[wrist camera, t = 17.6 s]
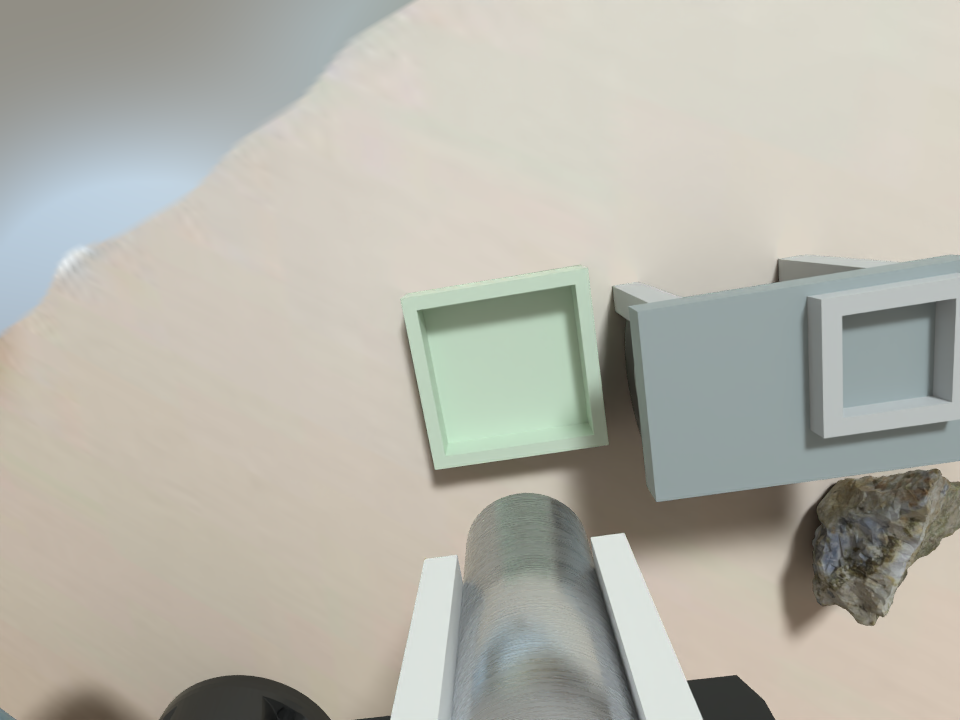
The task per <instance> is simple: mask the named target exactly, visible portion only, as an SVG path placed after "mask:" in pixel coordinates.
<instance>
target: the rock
mask: <svg viewBox="0 0 960 720" xmlns="http://www.w3.org/2000/svg"><path fill="white" fill-rule="evenodd" d="M816 513H817V514H818V519H819V520H820V522H821V523H822V525H820V526H819V527H818V528H817V529H816V531H815V538H814V539H813V541H812V544H813V547H814V551H813V561H814V564H813V569H814V575H815V577H814V579H813V592H814V594H815V596H816V599H817V602H818V603H819V604H820V605H821V606H830V605H834V604H836V605H838V606H840V607H842V608H844V609H846V610H847V611H848V612H849V613H850V614H851V615H852V616H853V617H854V618H855V620H856V621H857V622H858V623H860V624H863V625H866V626H874V625H875V623H876V621H877V619H878V617H879V616H881V617H884V616H885V615H886V614H887V613H888V611H889V608H890V606H891V604H892V603H893V598H894V593H895V592H896V590H897V588H898V587H899V586H900V584H901V583H902V581H903V580H904V579H905V577H906V575H907V569H908V568H909V567H910V566H911V565H912V564H913V563H914V562H915V561H916V560H917V559H919V558H920V557H923V556H926V555H928V554H930V553H931V552H932V551H933V550H935V549H936V548H937V547H938V546H939V544H940V541H941V539H942V538H945V537H948V536H950V535H952V534H953V533H954V532H955V531H956V530H958V529H959V528H960V482H949V480H948V479H946V478H945V477H943V476H942V473H941V472H940V470H938V469H931V470H927V471H924V470H915V471H908V472H906V473H904V474H896V475H890V476H881V477H879V478H877V477H875V478H874V477H872V476H865V477H862V478H859V479H852V478H846V479H845V480H839V481H838V482H837V483H836V484H835V485H834V486H833V487H832V489H831V490H830V491H829V492H828V493H827V494H826V496H825V497H824V498H823V500H822V501H821V502H820V503H819V505H818V507H817V511H816Z"/></svg>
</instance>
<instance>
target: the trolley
mask: <svg viewBox="0 0 960 720" xmlns="http://www.w3.org/2000/svg"><path fill="white" fill-rule="evenodd" d="M778 264H779V282H777V283H771V284H764V285H758V286H752V287H746V288H739V289H733V290H727V291H721V292H714V293H708V294H702V295H696V296H689V297H683V298H682V297H680V296H677V295H674V294H671V293H668V292H666V291H663V290H660V289H657V288H655V287H652V286H649V285H646V284H643V283H641V282H634V283H628V284H622V285H616V286H613V295H614V304H615V312H617V313H618V314H620V315H621V316H623V317H624V318H626V319H627V320H626V327H625V360H626V370H627V378H628V384H629V390H630V396H631V401H632V405H633V410H634V414H635V418H636V421H637V425H638V428H639V431H640V434H641V437H642V444H643V454H644V464H645V474H646V483H647V487H648V489H649V491H650V492H651V494H652V496H653V497H654V499H655V501H656V502H661V501H668V500H675V499H683V498H690V497H698V496H705V495H712V494H720V493H727V492H734V491H742V490H749V489H756V488H764V487H771V486H779V485H786V484H793V483H801V482H808V481H815V480H823V479H830V478H837V477H845V476H852V475H860V474H867V473H874V472H882V471H889V470H896V469H904V468H911V467H918V466H926V465H933V464H941V463H948V462H955V461H960V255H946V256H939V257H933V258H927V259H921V260H914V261H908V262H892V261H879V260H867V259H854V258H841V257H829V256H816V255H800V256H794V257H788V258H782V259H778Z"/></svg>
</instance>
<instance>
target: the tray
mask: <svg viewBox="0 0 960 720" xmlns="http://www.w3.org/2000/svg"><path fill="white" fill-rule="evenodd" d="M401 304H402V309H403V314H404V319H405V324H406V329H407V334H408V339H409V344H410V349H411V354H412V359H413V364H414V369H415V374H416V378H417V383H418V388H419V393H420V398H421V403H422V408H423V413H424V418H425V423H426V428H427V433H428V438H429V443H430V448H431V453H432V458H433V463H434V468H435V470H438V469H445V468H452V467H459V466H466V465H473V464H480V463H487V462H494V461H501V460H508V459H515V458H522V457H529V456H536V455H543V454H550V453H557V452H564V451H570V450H577V449H584V448H591V447H598V446H605V445H609V443H608V434H607V426H606V417H605V409H604V401H603V392H602V384H601V375H600V367H599V358H598V350H597V341H596V333H595V325H594V316H593V308H592V299H591V291H590V282H589V274H588V268H587V267H584V266H582V265H577V266H571V267H565V268H559V269H553V270H547V271H541V272H534V273H528V274H522V275H516V276H510V277H504V278H498V279H492V280H486V281H480V282H474V283H468V284H462V285H456V286H450V287H444V288H438V289H432V290H426V291H420V292H414V293H408V294H406V295H405V296H404V297H402V298H401Z"/></svg>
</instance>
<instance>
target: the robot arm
mask: <svg viewBox="0 0 960 720" xmlns="http://www.w3.org/2000/svg"><path fill="white" fill-rule="evenodd" d="M591 545H592V552H593V560H594V567H595V572H596V575H597V579H598V582H599V585H600V589H601V592H602V596H603V599H604V603H605V606H606V610H607V613H608V616H609V620H610V623H611V627H612V630H613V634H614V637H615V641H616V644H617V647H618V651H619V654H620V658H621V661H622V665H623V668H624V672H625V675H626V678H627V682H628V685H629V689H630V692H631V696H632V699H633V703H634V706H635V709H636V713H637V716H638V720H775V718H774V717H773V715H772V713H771V711H770V710H769V708H768V706H767V704H766V703H765V701H764V700H763V699H762V698H761V697H760V696H759V695H758V694H757V693H756V692H754V691H753V690H752V689H751V688H750V687H749V686H748V685H747V684H746V683H745V682H743V681H742V680H741V679H740V678H739V677H738V676H737V675H733V676H724V677H715V678H706V679H697V680H688V681H687V680H686V678H685V676H684V673H683V671H682V669H681V666H680V664H679V661H678V659H677V657H676V654H675V652H674V650H673V647H672V645H671V642H670V640H669V638H668V635H667V633H666V631H665V628H664V626H663V623H662V621H661V619H660V616H659V614H658V612H657V609H656V607H655V604H654V602H653V600H652V597H651V595H650V593H649V590H648V588H647V585H646V583H645V581H644V578H643V576H642V574H641V571H640V569H639V566H638V564H637V562H636V559H635V557H634V555H633V552H632V550H631V548H630V545H629V543H628V540H627V538H626V536H625V533H620V534H612V535H604V536H597V537H591ZM462 593H463V581H462V576H461V571H460V566H459V561H458V556H457V555H452V556H445V557H437V558H429V559H425V560H424V565H423V570H422V574H421V579H420V584H419V588H418V593H417V598H416V602H415V607H414V612H413V616H412V621H411V626H410V630H409V635H408V639H407V644H406V649H405V653H404V658H403V663H402V667H401V672H400V677H399V681H398V686H397V691H396V695H395V700H394V705H393V709H392V714H391V716H384V717H375V718H366V719H357V720H451V714H452V703H453V692H454V681H455V670H456V659H457V648H458V637H459V626H460V615H461V604H462ZM0 720H16V719H15V718H13V717H12V716H11V715H9V714H8V713H6V712H5V711H4V710H2V709H1V708H0ZM159 720H331V719H330V718H329V717H328V716H327V714H326V713H325V712H324V711H323V710H322V709H321V708H320V707H319V706H318V705H317V704H316V703H314V702H313V701H312V700H311V699H309V698H308V697H307V696H305V695H304V694H302V693H300V692H299V691H297V690H295V689H293V688H291V687H289V686H287V685H284V684H282V683H279V682H276V681H273V680H270V679H266V678H261V677H255V676H245V675H231V676H222V677H216V678H212V679H208V680H205V681H202V682H200V683H197V684H195V685H193V686H191V687H189V688H188V689H186V690H185V691H183V692H182V693H180V694H179V695H178V696H177V697H176V698H175V699H174V700H173V701H172V702H171V703H170V704H169V705H168V707H167V708H166V710H165V711H164V713H163V714H162V716H161V717H160V719H159Z"/></svg>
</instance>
